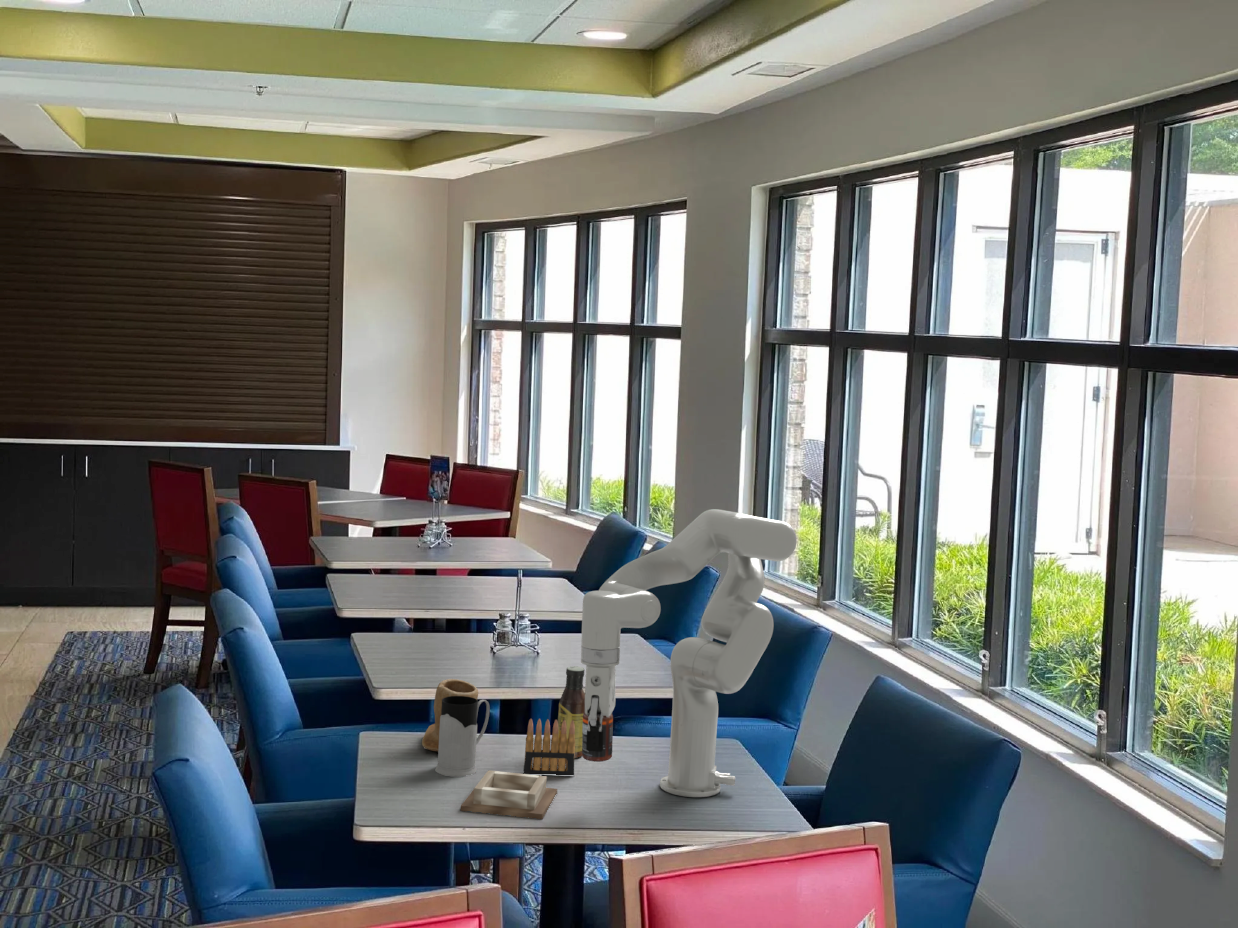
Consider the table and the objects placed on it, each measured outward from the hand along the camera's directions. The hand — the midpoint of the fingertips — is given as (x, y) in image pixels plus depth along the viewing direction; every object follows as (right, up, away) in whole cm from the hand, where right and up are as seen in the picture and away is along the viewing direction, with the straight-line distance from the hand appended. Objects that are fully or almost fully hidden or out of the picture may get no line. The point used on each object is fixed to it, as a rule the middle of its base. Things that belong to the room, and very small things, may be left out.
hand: (597, 744), depth 261 cm
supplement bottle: (0, -3, 0) cm, 3 cm away
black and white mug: (-29, -10, +23) cm, 38 cm away
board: (-17, -12, +2) cm, 21 cm away
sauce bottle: (-7, -10, +36) cm, 38 cm away
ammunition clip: (-11, -11, +22) cm, 27 cm away
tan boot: (-34, -9, +38) cm, 51 cm away
